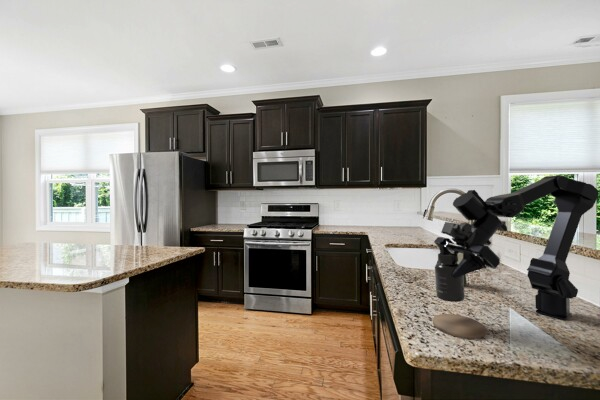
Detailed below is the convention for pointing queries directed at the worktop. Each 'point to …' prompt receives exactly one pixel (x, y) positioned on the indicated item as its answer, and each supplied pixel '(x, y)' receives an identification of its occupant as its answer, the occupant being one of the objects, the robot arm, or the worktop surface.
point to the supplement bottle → (448, 279)
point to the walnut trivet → (459, 326)
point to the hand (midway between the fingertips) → (444, 273)
